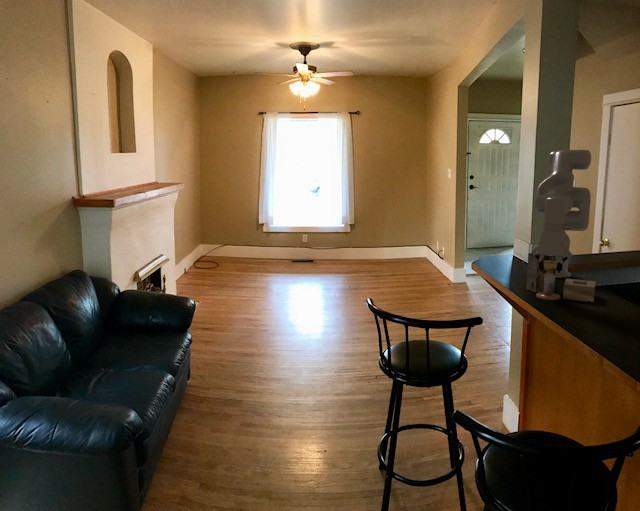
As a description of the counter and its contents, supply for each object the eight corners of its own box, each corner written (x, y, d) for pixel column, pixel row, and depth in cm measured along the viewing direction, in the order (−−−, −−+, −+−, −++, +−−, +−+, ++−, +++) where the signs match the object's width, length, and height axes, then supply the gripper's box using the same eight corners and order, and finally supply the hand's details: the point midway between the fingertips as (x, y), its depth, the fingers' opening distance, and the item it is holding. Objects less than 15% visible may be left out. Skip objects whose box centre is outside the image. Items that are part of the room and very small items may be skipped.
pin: (541, 290, 214) (543, 259, 211) (557, 292, 211) (559, 261, 208) (539, 293, 209) (542, 262, 206) (555, 295, 206) (558, 264, 203)
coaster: (537, 293, 216) (537, 291, 216) (561, 296, 212) (561, 293, 212) (535, 298, 208) (535, 296, 208) (559, 301, 204) (559, 299, 204)
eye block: (564, 292, 217) (566, 278, 216) (594, 295, 212) (595, 281, 211) (562, 298, 208) (564, 284, 207) (593, 302, 203) (594, 287, 202)
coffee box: (543, 287, 226) (546, 251, 223) (553, 290, 220) (556, 254, 217) (525, 288, 224) (528, 253, 220) (535, 292, 218) (538, 255, 214)
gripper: (577, 227, 204) (574, 271, 207) (531, 225, 212) (528, 267, 215) (576, 230, 197) (573, 275, 201) (529, 227, 206) (526, 271, 209)
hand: (550, 271), depth 208 cm, fingers closed on pin, 5 cm apart
